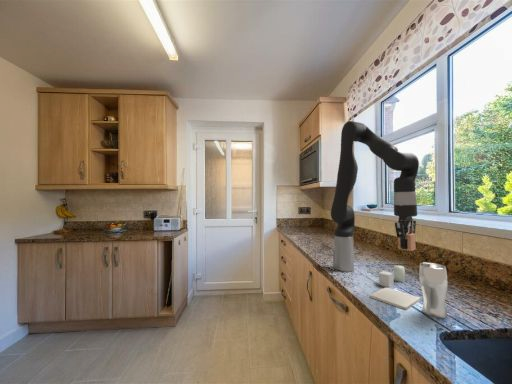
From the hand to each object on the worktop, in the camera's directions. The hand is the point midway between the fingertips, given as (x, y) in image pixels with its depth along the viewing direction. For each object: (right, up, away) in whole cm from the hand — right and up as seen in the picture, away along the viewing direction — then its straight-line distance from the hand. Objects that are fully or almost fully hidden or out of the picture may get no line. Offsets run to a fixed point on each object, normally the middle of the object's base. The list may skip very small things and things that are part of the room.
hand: (406, 247), depth 87 cm
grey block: (-3, -18, +8) cm, 20 cm away
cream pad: (-8, -17, -5) cm, 20 cm away
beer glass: (-2, -17, -16) cm, 23 cm away
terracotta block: (0, -1, 0) cm, 1 cm away
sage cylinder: (+5, -18, +13) cm, 22 cm away
